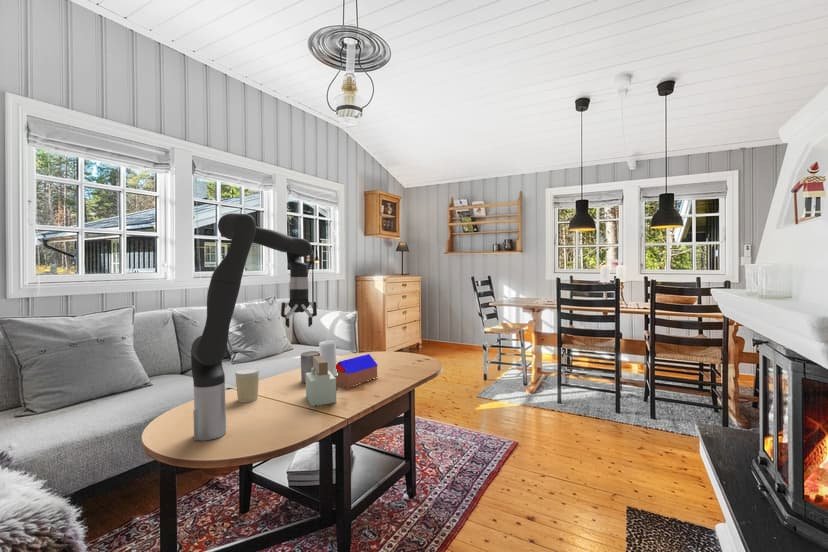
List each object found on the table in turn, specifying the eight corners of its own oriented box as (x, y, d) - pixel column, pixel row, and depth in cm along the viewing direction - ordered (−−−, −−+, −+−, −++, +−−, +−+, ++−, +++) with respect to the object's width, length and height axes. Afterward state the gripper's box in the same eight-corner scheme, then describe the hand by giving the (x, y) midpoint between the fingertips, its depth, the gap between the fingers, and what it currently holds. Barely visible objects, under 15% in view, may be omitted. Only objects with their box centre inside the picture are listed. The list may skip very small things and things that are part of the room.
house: (378, 378, 196) (377, 355, 196) (348, 388, 180) (347, 363, 180) (361, 374, 203) (360, 352, 203) (331, 384, 188) (330, 359, 187)
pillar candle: (319, 377, 200) (318, 347, 199) (323, 382, 191) (322, 351, 190) (299, 379, 196) (298, 349, 195) (302, 384, 187) (301, 353, 186)
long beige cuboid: (319, 375, 158) (318, 363, 158) (313, 367, 171) (312, 356, 170) (327, 374, 159) (327, 362, 159) (321, 366, 172) (321, 355, 172)
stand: (311, 406, 157) (310, 376, 157) (306, 396, 170) (305, 368, 169) (336, 402, 161) (335, 373, 161) (329, 392, 174) (328, 365, 174)
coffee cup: (251, 394, 173) (251, 367, 173) (264, 398, 168) (263, 370, 168) (231, 400, 166) (230, 372, 165) (243, 404, 160) (243, 375, 160)
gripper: (281, 288, 157) (281, 329, 157) (317, 288, 163) (317, 327, 163) (280, 287, 164) (280, 326, 164) (315, 287, 170) (314, 325, 170)
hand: (299, 326), depth 164 cm, fingers open, 8 cm apart
